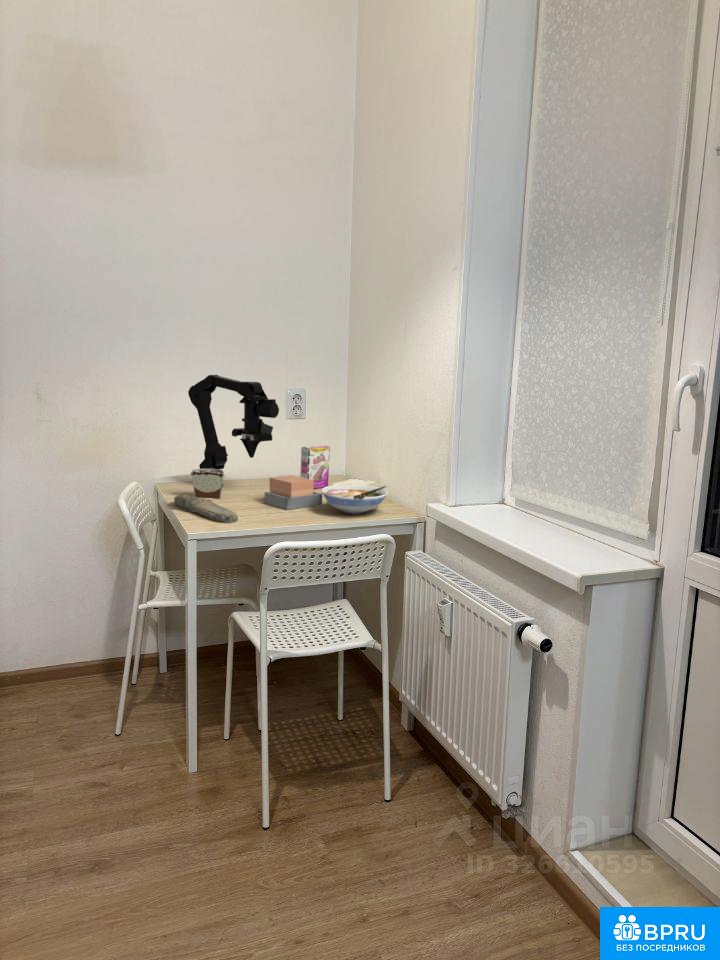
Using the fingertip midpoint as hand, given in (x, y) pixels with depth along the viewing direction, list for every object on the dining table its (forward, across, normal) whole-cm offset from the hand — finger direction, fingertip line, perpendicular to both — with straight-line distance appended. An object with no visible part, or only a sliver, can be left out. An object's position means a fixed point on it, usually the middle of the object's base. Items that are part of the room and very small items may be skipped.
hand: (251, 457), depth 291 cm
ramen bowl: (+13, -47, -10) cm, 50 cm away
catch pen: (+13, -26, 0) cm, 29 cm away
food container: (+13, 0, +18) cm, 22 cm away
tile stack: (+13, -25, 0) cm, 28 cm away
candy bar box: (+13, -7, -25) cm, 29 cm away
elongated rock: (+14, -20, +32) cm, 41 cm away
